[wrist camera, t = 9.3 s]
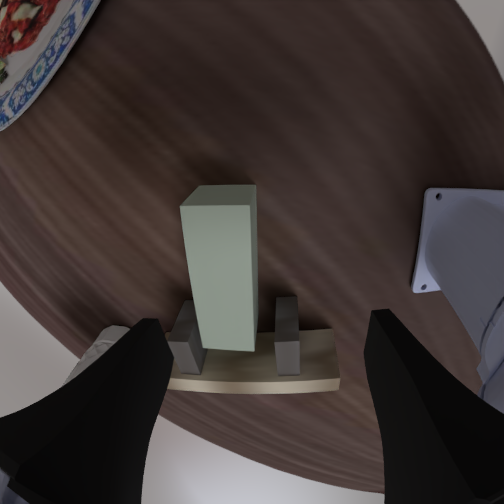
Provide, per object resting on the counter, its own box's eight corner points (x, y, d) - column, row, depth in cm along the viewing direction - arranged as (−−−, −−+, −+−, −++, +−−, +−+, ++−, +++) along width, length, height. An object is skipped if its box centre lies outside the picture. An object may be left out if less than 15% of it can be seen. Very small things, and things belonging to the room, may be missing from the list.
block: (256, 183, 17) (249, 205, 14) (258, 313, 22) (254, 351, 18) (199, 184, 17) (179, 206, 14) (213, 311, 22) (202, 347, 19)
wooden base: (334, 293, 20) (345, 343, 16) (331, 341, 22) (338, 390, 18) (153, 300, 22) (129, 343, 18) (171, 343, 24) (153, 386, 20)
